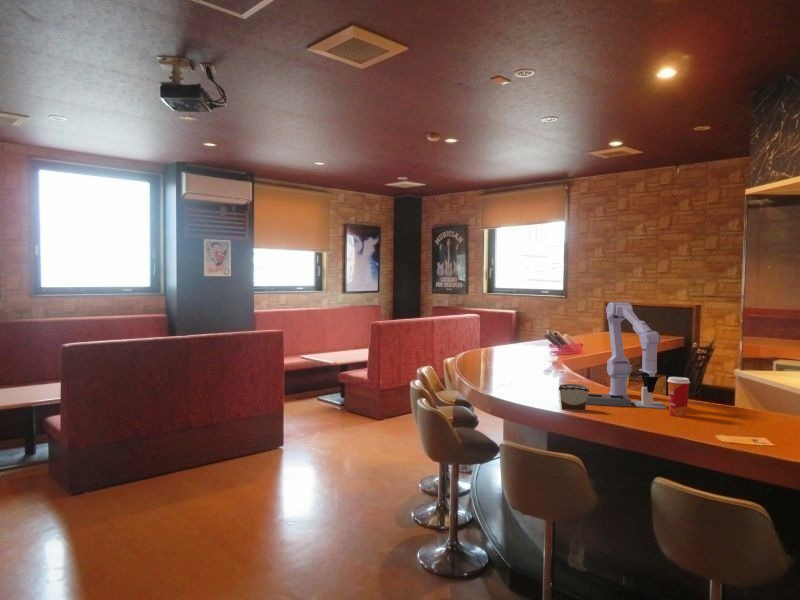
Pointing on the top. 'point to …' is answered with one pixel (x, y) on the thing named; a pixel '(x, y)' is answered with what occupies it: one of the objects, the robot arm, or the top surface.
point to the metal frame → (608, 400)
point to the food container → (573, 397)
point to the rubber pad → (655, 405)
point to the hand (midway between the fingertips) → (648, 390)
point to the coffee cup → (678, 396)
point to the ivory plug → (646, 397)
